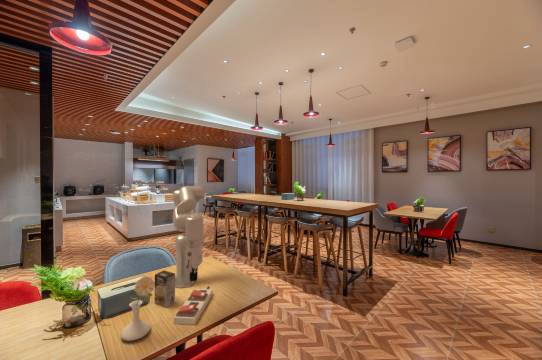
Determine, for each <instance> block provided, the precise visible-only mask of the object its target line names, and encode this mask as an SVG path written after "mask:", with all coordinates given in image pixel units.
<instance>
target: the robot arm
mask: <svg viewBox="0 0 542 360" xmlns="http://www.w3.org/2000/svg"><path fill="white" fill-rule="evenodd" d="M205 197H206V191H205V188H204V187H203V186H202V185H186V186H185V185H184V186H183V187H181V188H180V189H177V190H174V191H173V192H172V199H173V204H174V205H175V208H174V209H173V211H172V221H173V223H172V224H173V228H175V230H177V231H179V232H181V233H182V234H178V235H177V236H176V237H175V239H174V244H175V250H176V251H175V253H176V275H175V288H178V289H183V288H184V289H185V288H189V287H191V286H193V285H194V284H195V282H197V280H198V273H199V271H198V269H199V267H200V266H201V264H202V263H203V246H204V244H205V233H204V231H205V229H204V227H205V226H204V217H203V215H202V214H200V213H192V211H193V210H195V209H196V207H197V205H198V203H201V202H202V201H203V200H204V199H205ZM183 232H184V233H183Z"/></svg>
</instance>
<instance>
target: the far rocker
mask: <svg viewBox="0 0 542 360" xmlns="http://www.w3.org/2000/svg"><path fill="white" fill-rule="evenodd" d="M205 296H206V293H205V292H201V291H198V290H195V289H193V291H192V292H191V293H190V296H189V297H194V298H198V299H204V297H205Z"/></svg>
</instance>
